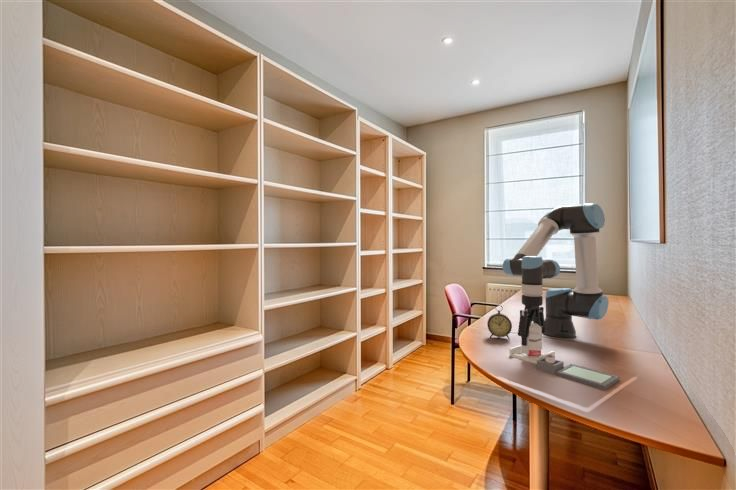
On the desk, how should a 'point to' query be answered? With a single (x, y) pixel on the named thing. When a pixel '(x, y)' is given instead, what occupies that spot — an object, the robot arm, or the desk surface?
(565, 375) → the base
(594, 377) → the pale green panel
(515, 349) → the trough
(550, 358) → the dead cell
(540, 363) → the cup
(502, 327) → the alarm clock
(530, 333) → the ink box
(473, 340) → the desk surface
